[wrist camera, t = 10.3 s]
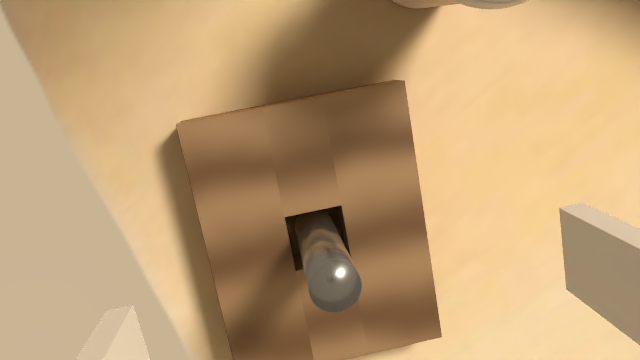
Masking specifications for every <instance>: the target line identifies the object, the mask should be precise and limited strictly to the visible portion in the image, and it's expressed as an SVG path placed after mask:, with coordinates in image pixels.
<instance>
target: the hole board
mask: <svg viewBox="0 0 640 360" xmlns="http://www.w3.org/2000/svg"><path fill="white" fill-rule="evenodd" d="M176 127H177V131H178V135H179V139H180V143H181V147H182V152H183V156H184V160H185V164H186V168H187V172H188V176H189V180H190V184H191V188H192V192H193V196H194V201H195V205H196V209H197V213H198V217H199V221H200V225H201V229H202V233H203V237H204V241H205V245H206V250H207V254H208V258H209V262H210V266H211V270H212V274H213V278H214V282H215V286H216V290H217V294H218V299H219V303H220V307H221V311H222V315H223V319H224V323H225V327H226V331H227V335H228V339H229V343H230V348H231V352H232V356H233V360H344V359H348V358H353V357H357V356H361V355H366V354H370V353H374V352H379V351H383V350H387V349H392V348H396V347H401V346H405V345H409V344H414V343H418V342H422V341H427V340H431V339H435V338H440V337H442V335H441V328H440V321H439V314H438V307H437V301H436V294H435V287H434V280H433V273H432V266H431V259H430V252H429V246H428V239H427V232H426V225H425V218H424V211H423V204H422V197H421V191H420V184H419V177H418V170H417V163H416V156H415V149H414V143H413V136H412V129H411V122H410V115H409V108H408V101H407V94H406V88H405V81H401V80H392V81H387V82H382V83H377V84H371V85H366V86H361V87H356V88H351V89H345V90H340V91H335V92H330V93H325V94H320V95H314V96H309V97H304V98H299V99H294V100H288V101H283V102H278V103H273V104H268V105H262V106H257V107H252V108H247V109H242V110H236V111H231V112H226V113H221V114H216V115H210V116H205V117H200V118H195V119H190V120H185V121H181V122H180V123H178V124H176ZM336 206H338V211H339V216H340V222H341V227H342V233H343V238H344V244H345V247H346V249H347V251H348V253H349V255H350V257H351V259H352V261H353V263H354V265H355V268H356V270H357V272H358V274H359V276H360V278H361V283H362V289H361V293H360V296H359V298H358V300H357V301H356V302H355V303H354V304H353V305H352V306H351V307H350V308H348V309H346V310H344V311H340V312H328V311H324V310H322V309H320V308H319V307H317V306H316V305H315V304H314V303H313V301H312V300H311V297H310V295H309V290H308V286H307V281H306V277H305V272H304V268H303V263H302V259H301V256H296V257H293V254H292V249H291V244H290V239H289V234H288V229H287V225H286V220H285V217H288V216H292V215H297V214H302V213H307V212H312V211H316V210H321V209H326V208H331V207H336Z"/></svg>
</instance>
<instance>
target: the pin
mask: <svg viewBox="0 0 640 360" xmlns="http://www.w3.org/2000/svg"><path fill="white" fill-rule="evenodd" d="M295 231H296V236H297V241H298V245H299V250H300V254H301V259H302V263H303V268H304V272H305V277H306V281H307V286H308V290H309V295H310V297H311V300H312V301H313V303H314V304H315V305H316V306H317V307H319V308H320V309H322V310H324V311H328V312H340V311H344V310H346V309H348V308H350V307H351V306H352V305H353V304H354V303H355V302H356V301H357V300H358V298H359V296H360V293H361V289H362V283H361V278H360V276H359V274H358V272H357V270H356V268H355V265H354V263H353V261H352V259H351V257H350V255H349V253H348V251H347V249H346V247H345V245H344V243H343V241H342V239H341V237H340V235H339V233H338V231H337V229H336V227H335V225H334V223H333V221H332V219H331V217H330V215H329V214H328V213H327V212H326V211H324V210H322V209H321V210H316V211H312V212H307V213H302V214H300V215H299V216H298V218H297V220H296V222H295Z"/></svg>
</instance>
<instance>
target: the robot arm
mask: <svg viewBox="0 0 640 360" xmlns="http://www.w3.org/2000/svg"><path fill="white" fill-rule="evenodd" d="M559 210H560V222H561V233H562V245H563V256H564V267H565V279H566V289H567V290H568V291H569V292H571V293H572V294H573V295H575V296H576V297H577V298H579V299H580V300H581V301H583V302H584V303H585V304H586V305H588V306H589V307H590V308H592V309H593V310H594V311H596V312H597V313H598V314H600V315H601V316H602V317H603V318H605V319H606V320H607V321H609V322H610V323H611V324H613V325H614V326H615V327H617V328H618V329H619V330H620V331H622V332H623V333H624V334H626V335H627V336H628V337H630V338H631V339H632V340H634V341H635V342H636V343H638V344H639V345H640V228H638V227H636V226H633V225H631V224H629V223H627V222H625V221H622V220H620V219H618V218H616V217H614V216H611V215H609V214H607V213H605V212H602V211H600V210H598V209H596V208H594V207H591V206H589V205H587V204H585V203H580V204H575V205H571V206H566V207H562V208H559ZM76 360H150V357H149V354H148V351H147V348H146V345H145V342H144V338H143V335H142V332H141V329H140V326H139V322H138V319H137V316H136V313H135V309H134V306H133V304H132V305H128V306H123V307H119V308H114V309H110V310H107V311H106V312H105V314H104V316H103V317H102V319H101V320H100V322H99V323H98V325H97V327H96V328H95V330H94V331H93V333H92V334H91V336H90V338H89V339H88V341H87V342H86V344H85V345H84V347H83V349H82V350H81V352H80V353H79V355H78V356H77V358H76Z"/></svg>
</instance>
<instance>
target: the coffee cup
mask: <svg viewBox="0 0 640 360" xmlns="http://www.w3.org/2000/svg"><path fill="white" fill-rule="evenodd" d="M392 1H394V2H395V3H397V4H399V5H401V6H404V7H407V8H414V9H420V8H428V7H436V6H444V5H453V4H463V5H466V6H470V7H474V8H480V9H501V8H507V7H511V6H515V5H518V4H521V3H523V2H526V1H528V0H392Z"/></svg>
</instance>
